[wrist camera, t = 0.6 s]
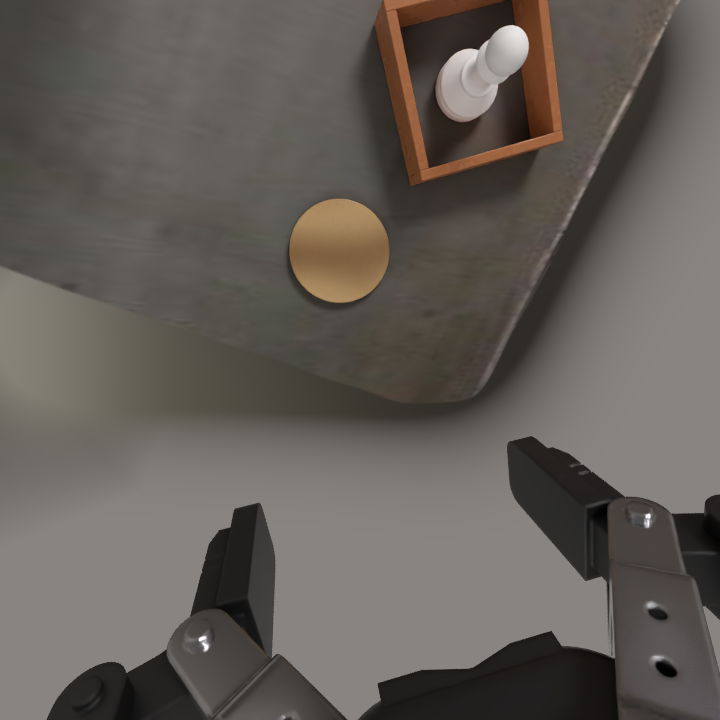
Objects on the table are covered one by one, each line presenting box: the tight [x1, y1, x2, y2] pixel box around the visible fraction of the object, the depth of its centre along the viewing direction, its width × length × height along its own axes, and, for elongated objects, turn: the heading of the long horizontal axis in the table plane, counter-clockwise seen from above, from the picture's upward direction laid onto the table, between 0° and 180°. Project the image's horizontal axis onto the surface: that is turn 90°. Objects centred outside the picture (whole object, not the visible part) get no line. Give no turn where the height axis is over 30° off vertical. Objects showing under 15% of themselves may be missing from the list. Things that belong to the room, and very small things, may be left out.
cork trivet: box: [289, 199, 390, 303], centre depth 37 cm, size 9×9×1 cm
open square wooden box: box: [374, 0, 563, 186], centre depth 34 cm, size 13×13×4 cm
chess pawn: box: [435, 25, 529, 122], centre depth 32 cm, size 5×5×9 cm
